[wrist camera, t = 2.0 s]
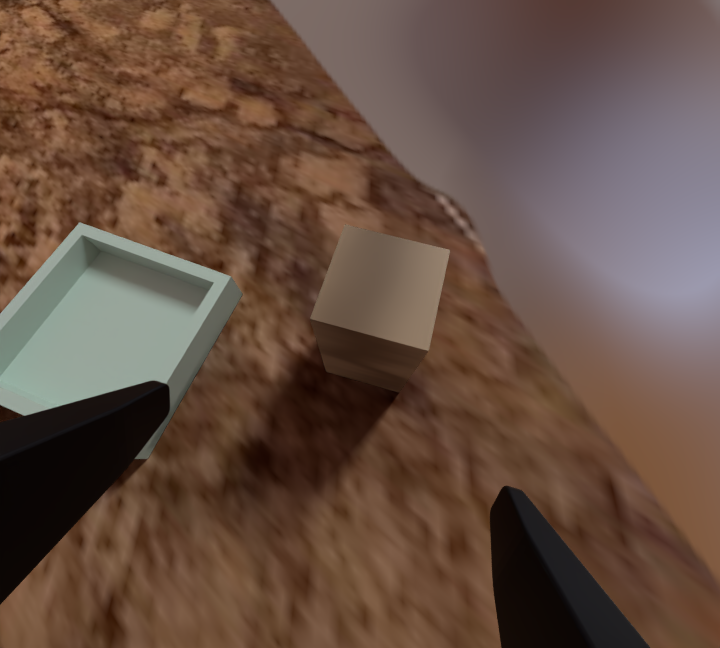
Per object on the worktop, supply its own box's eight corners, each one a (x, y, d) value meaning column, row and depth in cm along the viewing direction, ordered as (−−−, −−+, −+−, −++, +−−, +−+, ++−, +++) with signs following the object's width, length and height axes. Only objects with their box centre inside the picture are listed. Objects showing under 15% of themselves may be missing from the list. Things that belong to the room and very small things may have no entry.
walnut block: (415, 324, 24) (449, 250, 15) (399, 392, 22) (428, 350, 13) (347, 306, 24) (345, 224, 16) (326, 371, 22) (310, 318, 14)
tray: (242, 294, 24) (231, 276, 22) (147, 458, 20) (120, 458, 18) (104, 244, 25) (79, 222, 23) (-13, 388, 21) (-57, 379, 19)
